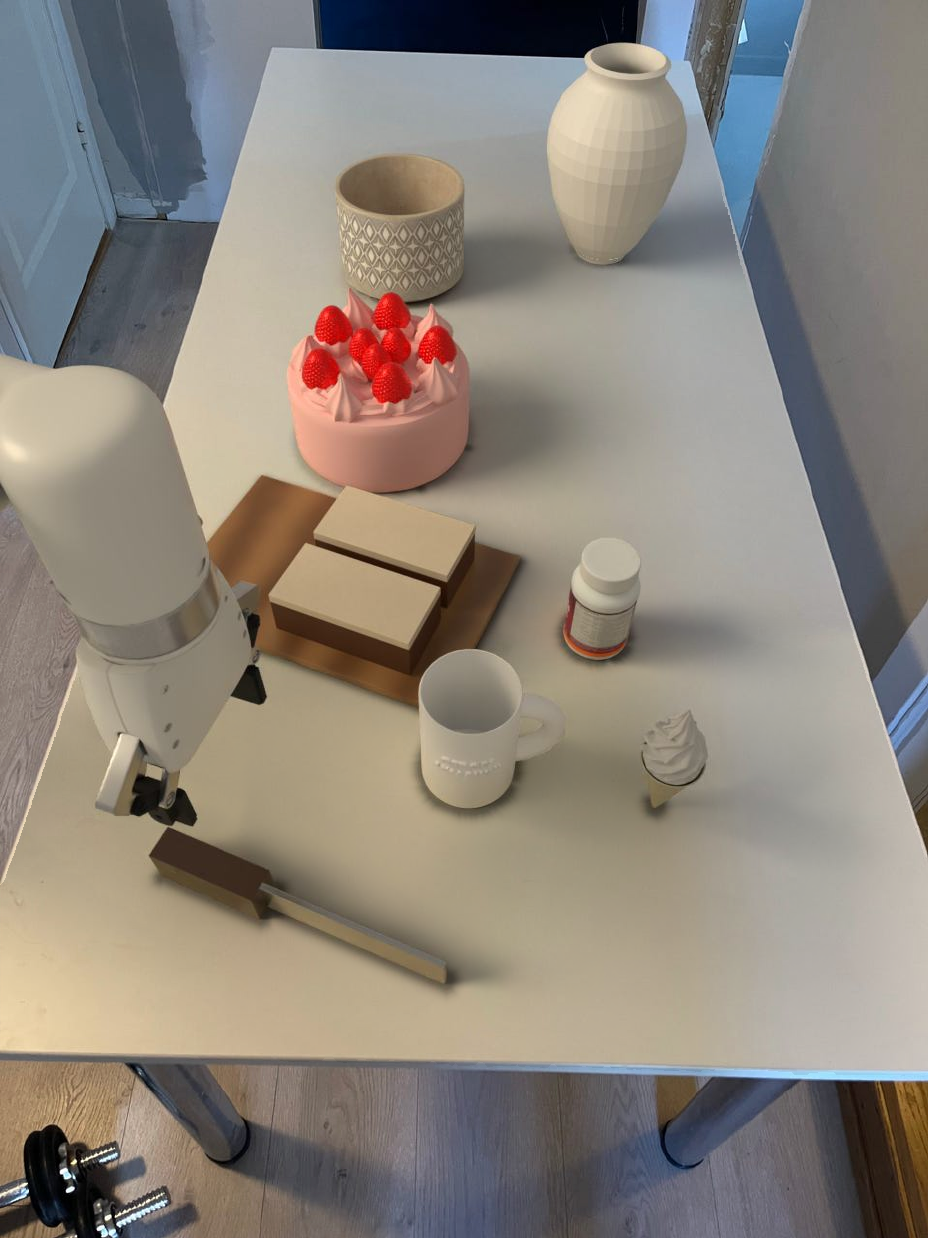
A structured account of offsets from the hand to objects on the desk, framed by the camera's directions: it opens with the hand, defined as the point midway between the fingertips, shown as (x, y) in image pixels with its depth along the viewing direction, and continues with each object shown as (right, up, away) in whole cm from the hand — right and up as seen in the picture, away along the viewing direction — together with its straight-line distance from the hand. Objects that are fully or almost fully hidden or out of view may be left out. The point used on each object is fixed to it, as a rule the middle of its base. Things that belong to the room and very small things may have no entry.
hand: (211, 753), depth 61 cm
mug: (+19, -4, +17) cm, 26 cm away
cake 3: (+7, +9, +25) cm, 28 cm away
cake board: (+5, +12, +29) cm, 32 cm away
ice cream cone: (+33, -7, +15) cm, 37 cm away
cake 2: (+10, +15, +30) cm, 35 cm away
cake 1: (+8, +30, +43) cm, 53 cm away
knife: (+5, -14, +9) cm, 17 cm away
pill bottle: (+30, +7, +26) cm, 40 cm away
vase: (+36, +61, +68) cm, 99 cm away
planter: (+9, +56, +64) cm, 86 cm away
